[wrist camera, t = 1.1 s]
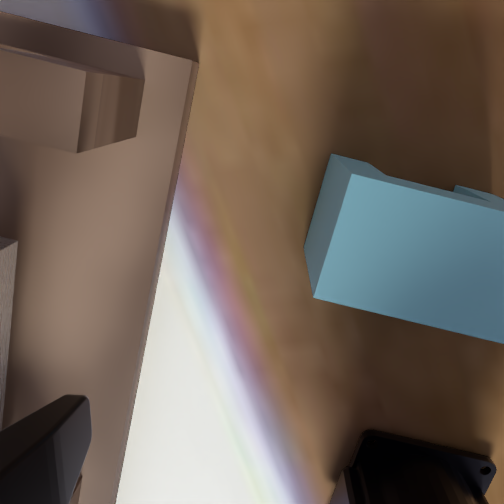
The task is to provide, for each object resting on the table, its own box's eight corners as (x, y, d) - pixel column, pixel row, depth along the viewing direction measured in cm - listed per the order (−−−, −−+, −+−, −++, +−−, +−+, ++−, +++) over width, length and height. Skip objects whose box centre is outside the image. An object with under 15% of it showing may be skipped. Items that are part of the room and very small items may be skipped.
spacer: (491, 193, 19) (570, 228, 14) (454, 284, 20) (513, 346, 15) (331, 153, 18) (351, 173, 13) (303, 247, 20) (313, 297, 15)
